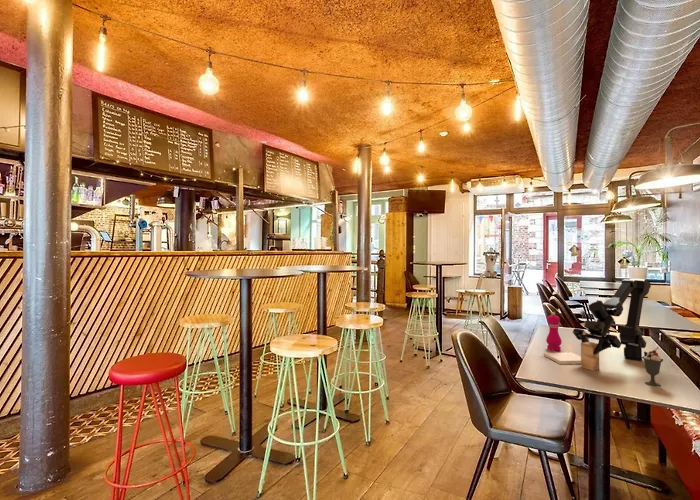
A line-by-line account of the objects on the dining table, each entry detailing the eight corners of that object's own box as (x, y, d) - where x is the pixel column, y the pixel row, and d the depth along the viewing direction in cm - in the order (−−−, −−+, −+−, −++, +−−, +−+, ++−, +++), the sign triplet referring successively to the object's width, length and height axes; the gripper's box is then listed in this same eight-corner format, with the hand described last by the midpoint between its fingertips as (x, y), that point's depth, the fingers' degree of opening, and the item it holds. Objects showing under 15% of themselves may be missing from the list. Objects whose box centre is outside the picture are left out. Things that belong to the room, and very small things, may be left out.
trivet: (571, 355, 186) (571, 352, 186) (590, 363, 172) (589, 360, 172) (544, 355, 186) (544, 352, 186) (560, 364, 172) (560, 360, 172)
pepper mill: (563, 351, 193) (563, 313, 194) (548, 350, 195) (548, 313, 195) (558, 348, 201) (558, 311, 201) (544, 347, 202) (544, 310, 202)
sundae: (665, 388, 140) (665, 349, 140) (643, 385, 144) (642, 346, 144) (662, 383, 146) (661, 345, 146) (640, 380, 149) (640, 343, 150)
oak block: (588, 365, 169) (587, 341, 169) (599, 368, 165) (598, 343, 165) (581, 367, 167) (580, 342, 167) (592, 370, 163) (592, 345, 163)
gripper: (574, 311, 176) (559, 336, 171) (617, 317, 159) (601, 345, 155) (585, 326, 180) (571, 351, 175) (627, 333, 163) (613, 362, 158)
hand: (588, 352), depth 165 cm, fingers closed on oak block, 5 cm apart
